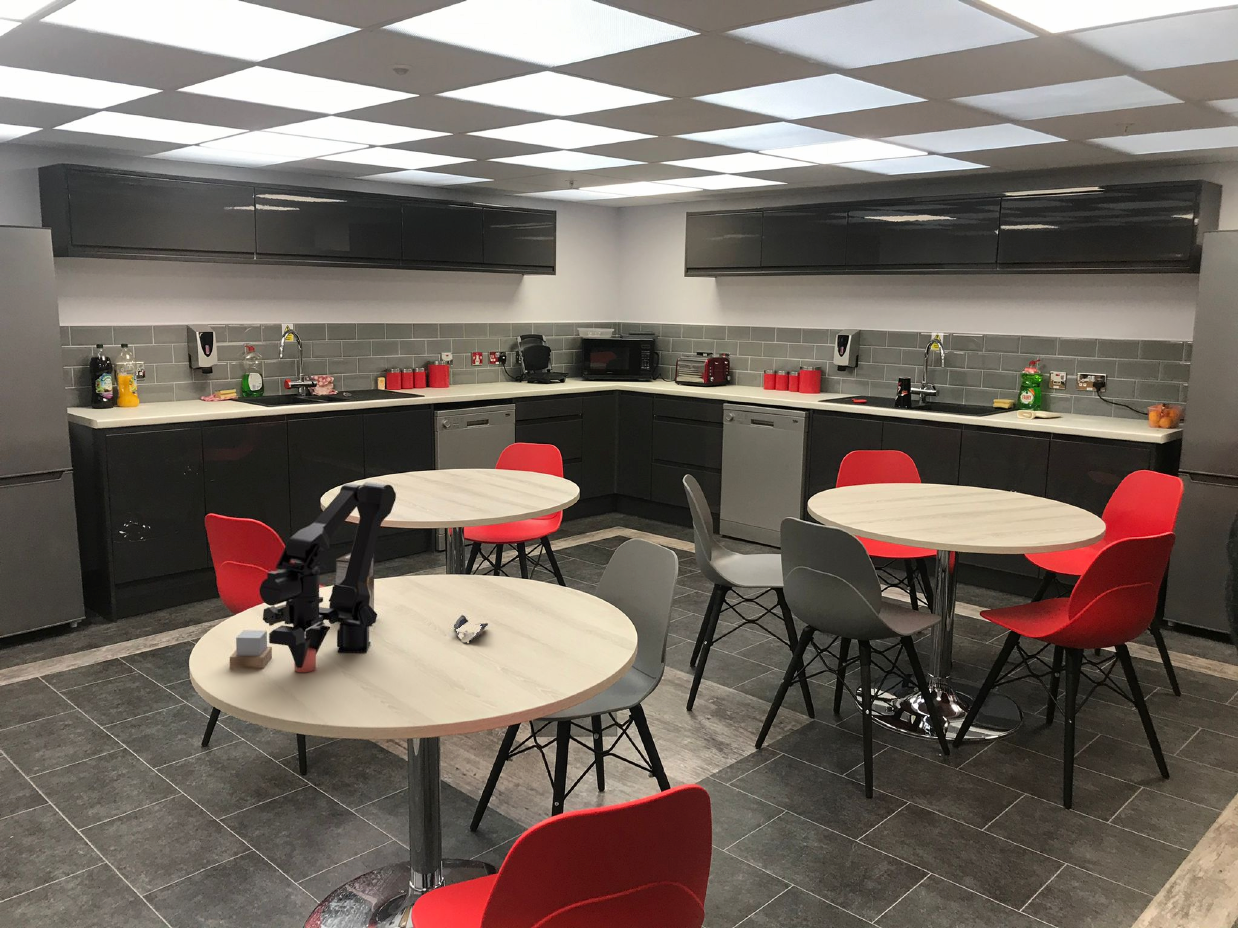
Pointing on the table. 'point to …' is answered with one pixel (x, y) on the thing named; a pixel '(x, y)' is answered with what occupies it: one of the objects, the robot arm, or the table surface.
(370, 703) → the table surface
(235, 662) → the walnut slab
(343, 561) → the coffee box
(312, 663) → the red cylinder
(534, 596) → the table surface
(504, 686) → the table surface
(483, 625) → the snack package
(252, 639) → the grey block
